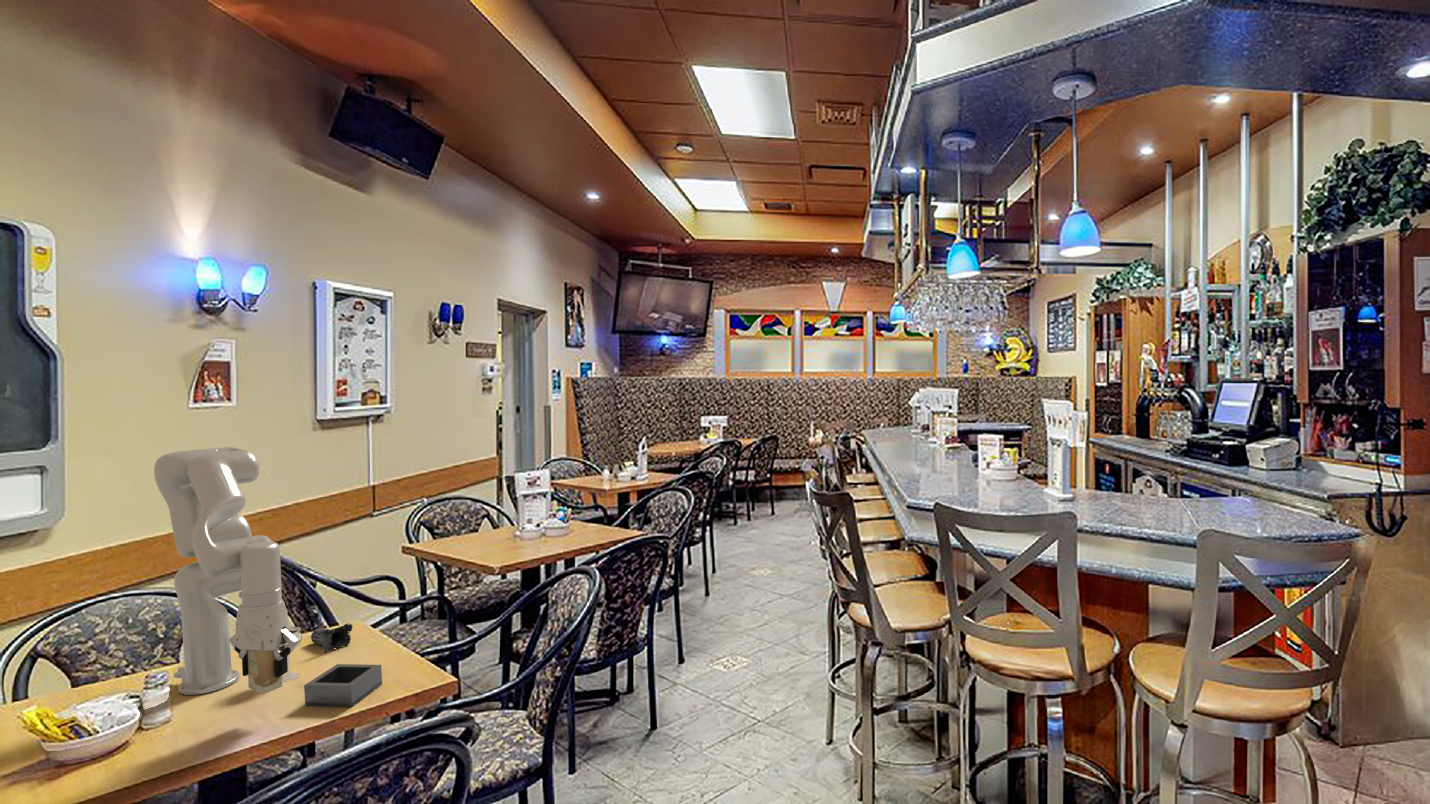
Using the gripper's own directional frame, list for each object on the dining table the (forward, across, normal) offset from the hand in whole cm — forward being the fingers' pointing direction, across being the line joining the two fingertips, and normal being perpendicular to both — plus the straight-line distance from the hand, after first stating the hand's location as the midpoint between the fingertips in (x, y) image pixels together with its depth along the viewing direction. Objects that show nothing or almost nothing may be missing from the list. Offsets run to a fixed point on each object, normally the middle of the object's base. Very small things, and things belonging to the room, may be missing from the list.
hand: (265, 673), depth 155 cm
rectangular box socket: (+10, +11, +11) cm, 19 cm away
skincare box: (+3, 0, 0) cm, 3 cm away
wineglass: (+11, -11, +20) cm, 26 cm away
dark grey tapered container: (+12, -15, +41) cm, 45 cm away
